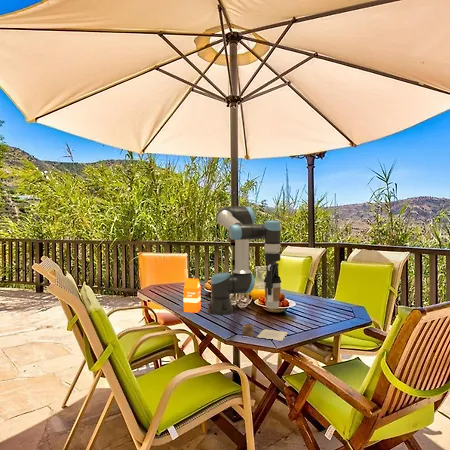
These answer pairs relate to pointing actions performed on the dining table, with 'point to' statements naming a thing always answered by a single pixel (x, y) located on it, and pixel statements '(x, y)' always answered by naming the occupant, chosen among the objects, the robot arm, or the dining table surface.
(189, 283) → the orange juice
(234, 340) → the dining table surface
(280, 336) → the coaster
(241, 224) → the robot arm
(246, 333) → the walnut cube
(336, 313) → the dining table surface
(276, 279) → the coffee cup
